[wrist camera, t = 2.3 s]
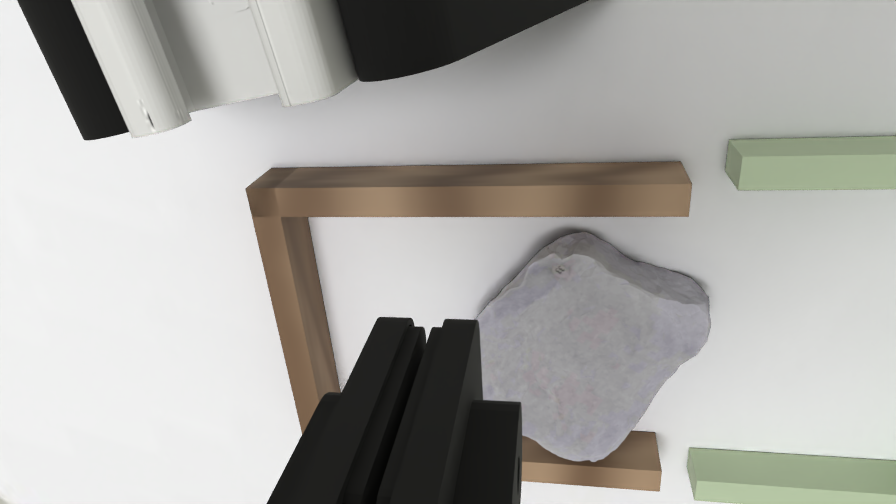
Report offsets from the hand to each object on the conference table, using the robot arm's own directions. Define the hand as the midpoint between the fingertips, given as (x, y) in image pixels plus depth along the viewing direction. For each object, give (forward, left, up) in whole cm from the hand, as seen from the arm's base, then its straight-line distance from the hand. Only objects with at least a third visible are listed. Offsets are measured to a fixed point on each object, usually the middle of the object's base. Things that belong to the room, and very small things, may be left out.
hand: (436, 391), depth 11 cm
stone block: (-2, +13, -22) cm, 25 cm away
